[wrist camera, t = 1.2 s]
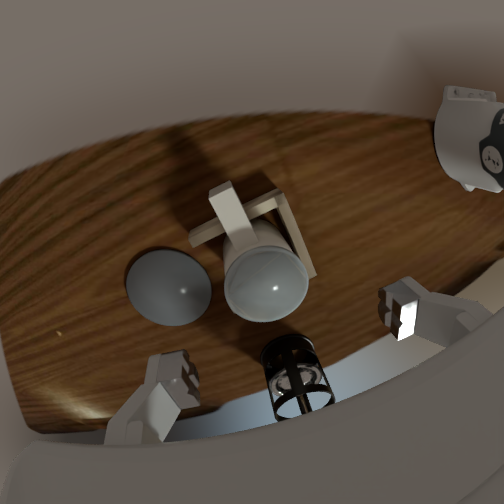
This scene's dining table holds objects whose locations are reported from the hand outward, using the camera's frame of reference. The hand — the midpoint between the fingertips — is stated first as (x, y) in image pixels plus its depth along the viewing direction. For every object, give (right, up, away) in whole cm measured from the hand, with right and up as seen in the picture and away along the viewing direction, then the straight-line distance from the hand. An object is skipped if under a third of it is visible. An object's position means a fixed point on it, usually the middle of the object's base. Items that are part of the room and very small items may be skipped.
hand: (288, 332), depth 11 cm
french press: (+5, -15, +35) cm, 38 cm away
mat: (-13, -2, +26) cm, 30 cm away
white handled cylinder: (-2, +6, +25) cm, 25 cm away
